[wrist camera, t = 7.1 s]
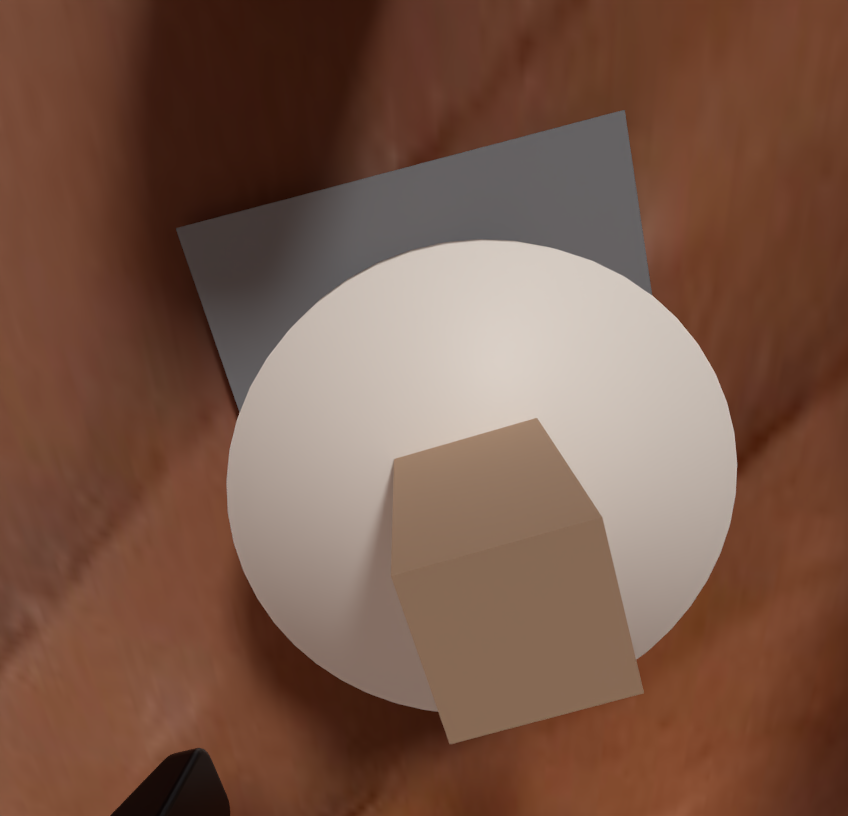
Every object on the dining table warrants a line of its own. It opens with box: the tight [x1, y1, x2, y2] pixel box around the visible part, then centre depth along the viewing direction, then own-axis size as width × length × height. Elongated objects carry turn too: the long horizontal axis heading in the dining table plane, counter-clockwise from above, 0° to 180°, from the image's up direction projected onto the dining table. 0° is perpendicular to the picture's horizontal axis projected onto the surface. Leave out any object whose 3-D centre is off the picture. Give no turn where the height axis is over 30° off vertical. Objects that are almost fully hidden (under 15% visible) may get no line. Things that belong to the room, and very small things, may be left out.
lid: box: [227, 239, 737, 744], centre depth 12 cm, size 11×11×6 cm
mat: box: [176, 110, 652, 412], centre depth 19 cm, size 12×14×1 cm
